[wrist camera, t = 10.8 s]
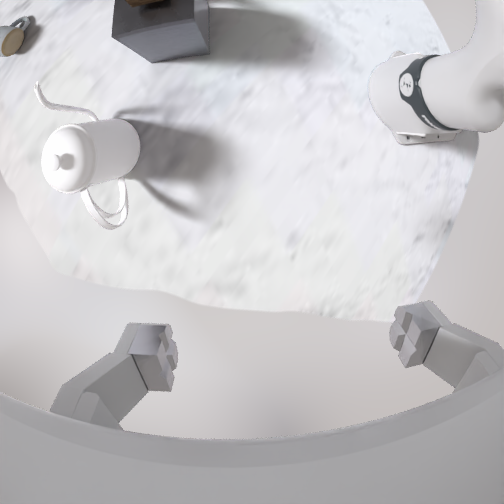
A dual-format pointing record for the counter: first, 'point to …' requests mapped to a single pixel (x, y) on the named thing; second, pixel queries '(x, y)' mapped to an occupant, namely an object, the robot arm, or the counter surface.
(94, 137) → the coffeepot
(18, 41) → the ceramic mug
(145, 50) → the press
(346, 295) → the counter surface
